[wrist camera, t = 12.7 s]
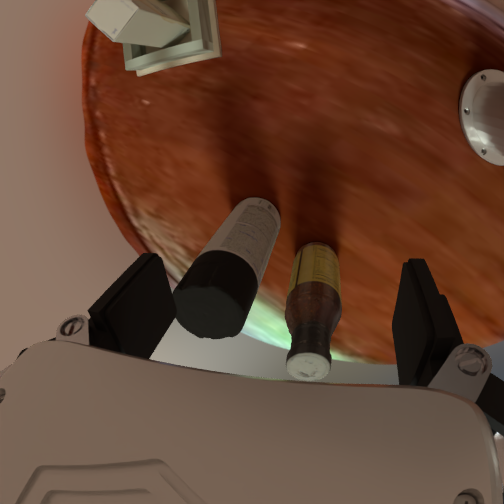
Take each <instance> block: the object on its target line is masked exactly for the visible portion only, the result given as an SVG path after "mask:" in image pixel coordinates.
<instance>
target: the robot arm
mask: <svg viewBox="0 0 504 504" xmlns="http://www.w3.org/2000/svg"><path fill="white" fill-rule="evenodd" d="M481 77H482V79H481ZM464 109H465V110H466V112H465V113H464ZM459 116H460V123H461V127H462V130H463V133H464V135H465V137H466V140H467V141H468V143H469V145H470V146H471V148H472V149H473V150H474V151H475V152H476V153H477V154H478V155H479V156H480V157H482V158H483V159H485V160H486V161H488V162H490V163H493V164H495V165H501V166H503V165H504V72H502V71H500V70H493V69H489V70H482V71H479V72H477V73H475V74H474V75H472V76H471V77H470V78H469V79H468V81H467V82H466V84H465V85H464V87H463V90H462V92H461V96H460V102H459ZM481 150H482V152H481ZM88 312H89V314H90V316H91V318H90V319H89V320H88V319H87V317H86V316H84V315H74V316H71V317H69V318H67V319H65V320H64V321H63V322H62V323H61V324H60V325H59V327H58V329H57V333H56V338H53V339H50V340H48V341H44V342H40V343H36V344H34V345H32V346H30V347H29V348H26V349H24V350H22V351H21V353H20V354H19V356H18V357H17V359H16V361H15V362H14V363H13V364H11V365H10V366H8V367H7V368H5V369H4V370H2V371H0V504H504V381H502V380H501V379H499V378H498V377H496V376H495V375H493V374H491V373H490V372H491V369H492V360H491V358H490V356H489V354H488V353H487V352H486V351H485V350H484V349H483V348H481V347H480V346H477V345H474V344H468V343H467V344H464V343H463V340H462V337H461V334H460V332H459V329H458V326H457V324H456V321H455V318H454V316H453V313H452V311H451V308H450V306H449V303H448V301H447V298H446V297H445V295H443V294H442V295H440V294H439V291H438V289H437V286H436V284H435V282H434V279H433V277H432V275H431V272H430V270H429V268H428V266H427V263H426V261H425V260H424V259H409V260H408V262H404V263H403V267H402V273H401V279H400V285H399V291H398V296H397V301H396V306H395V311H394V316H393V320H392V332H393V339H394V345H395V353H396V360H397V367H398V377H399V385H380V384H379V385H378V384H344V383H324V382H306V381H293V380H282V379H272V378H262V377H253V376H245V375H237V374H230V373H223V372H216V371H209V370H203V369H197V368H192V367H185V366H180V365H174V364H170V363H165V362H160V361H155V360H150V359H149V358H150V356H151V355H152V353H153V352H154V350H155V348H156V347H157V345H158V344H159V342H160V341H161V339H162V337H163V336H164V334H165V333H166V331H167V329H168V328H169V326H170V325H171V323H172V322H173V320H174V319H175V317H176V314H177V308H176V305H175V301H174V298H173V295H172V292H171V288H170V285H169V281H168V278H167V275H166V271H165V268H164V264H163V260H162V258H161V257H159V256H158V254H156V253H143V254H142V255H141V256H140V257H139V258H138V259H137V260H136V261H135V262H134V263H133V264H132V265H131V266H130V267H129V268H128V269H127V270H126V271H125V272H124V273H123V274H122V275H121V276H120V277H119V278H118V279H117V280H116V281H115V282H114V283H113V284H112V285H111V286H110V287H109V288H108V289H107V290H106V291H105V292H104V294H103V295H102V296H101V297H100V298H99V299H98V300H97V301H96V302H95V303H94V304H93V305H92V306H91V307H90V308H89V310H88ZM502 483H503V493H502Z"/></svg>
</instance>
